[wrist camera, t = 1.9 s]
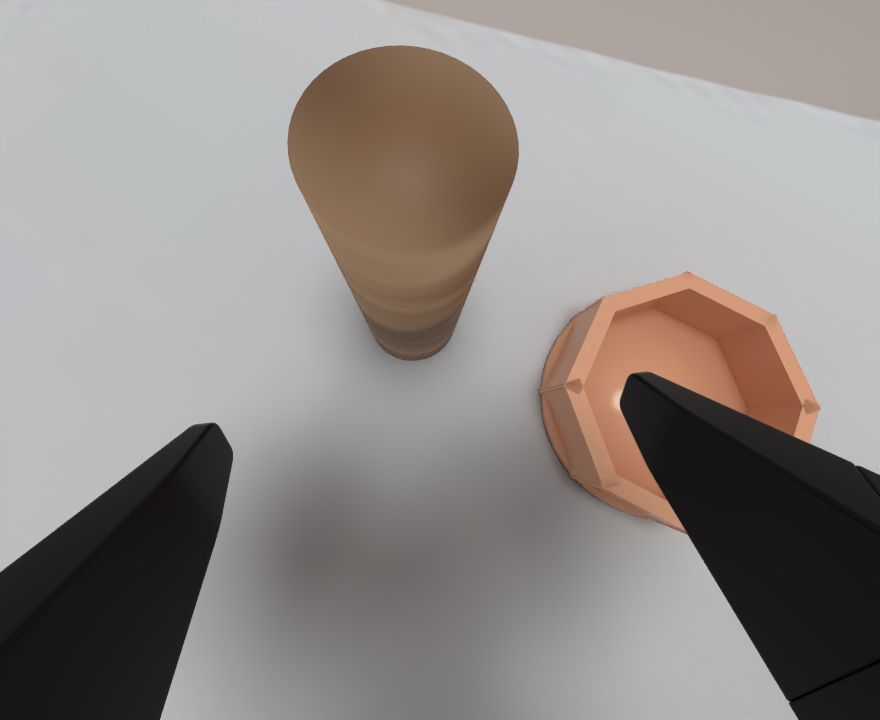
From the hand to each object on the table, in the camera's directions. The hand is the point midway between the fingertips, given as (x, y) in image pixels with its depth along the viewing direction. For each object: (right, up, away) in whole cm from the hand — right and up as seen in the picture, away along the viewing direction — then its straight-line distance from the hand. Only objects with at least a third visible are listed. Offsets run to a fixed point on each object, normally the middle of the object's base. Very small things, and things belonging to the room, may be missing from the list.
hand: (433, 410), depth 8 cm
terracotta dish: (+12, -1, +12) cm, 17 cm away
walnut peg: (-1, +3, +12) cm, 13 cm away
